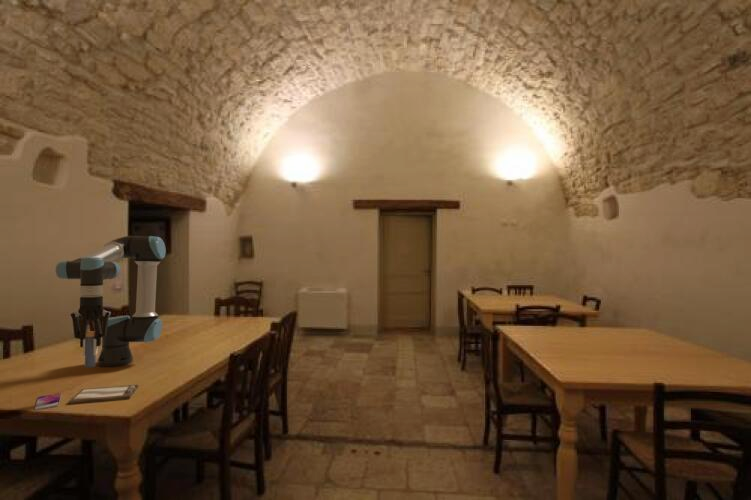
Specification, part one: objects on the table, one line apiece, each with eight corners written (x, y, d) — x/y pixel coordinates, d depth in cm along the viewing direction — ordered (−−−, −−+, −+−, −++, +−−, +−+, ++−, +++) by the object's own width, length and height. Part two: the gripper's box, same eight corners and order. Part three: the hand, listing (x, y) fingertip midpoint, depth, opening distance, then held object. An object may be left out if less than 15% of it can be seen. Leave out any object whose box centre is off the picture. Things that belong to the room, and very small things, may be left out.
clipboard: (81, 391, 163) (82, 386, 163) (138, 387, 170) (138, 382, 170) (68, 404, 150) (68, 399, 150) (129, 398, 156) (129, 393, 156)
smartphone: (33, 409, 144) (37, 396, 156) (33, 412, 144) (37, 398, 156) (59, 405, 148) (61, 392, 160) (59, 407, 148) (61, 394, 160)
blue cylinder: (86, 365, 161) (87, 331, 162) (96, 364, 163) (97, 331, 163) (83, 367, 158) (83, 333, 158) (93, 367, 159) (94, 332, 159)
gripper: (63, 297, 154) (62, 358, 154) (111, 296, 160) (110, 355, 159) (71, 295, 162) (70, 353, 161) (117, 294, 167) (116, 351, 167)
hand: (90, 354), depth 160 cm, fingers closed on blue cylinder, 3 cm apart
